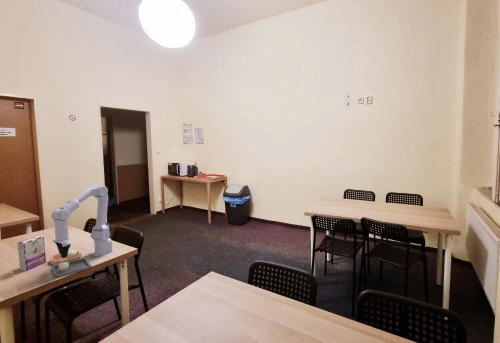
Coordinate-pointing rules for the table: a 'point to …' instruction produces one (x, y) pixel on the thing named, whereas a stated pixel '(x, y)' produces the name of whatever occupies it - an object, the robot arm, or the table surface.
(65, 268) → the white rounded piece
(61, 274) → the parts tray
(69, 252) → the white rounded piece
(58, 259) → the bowl
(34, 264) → the candy bar box
